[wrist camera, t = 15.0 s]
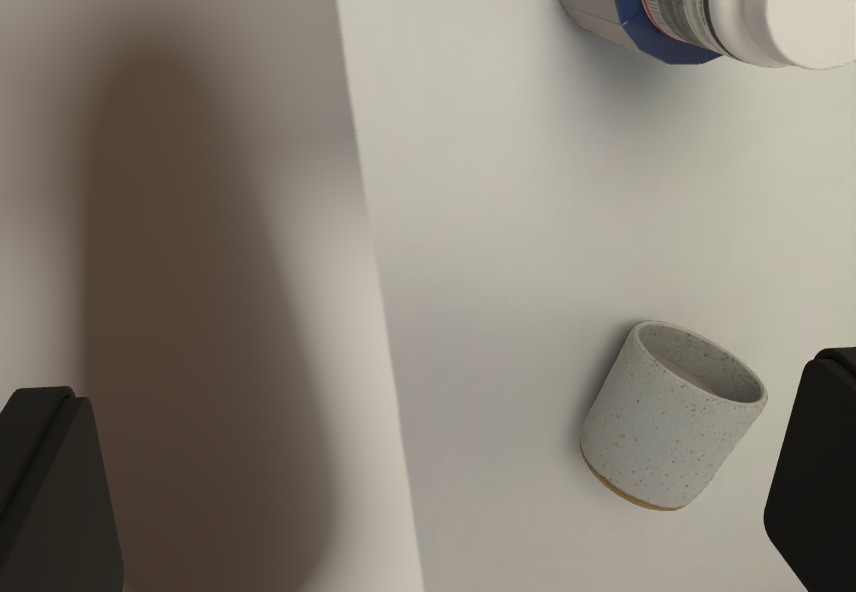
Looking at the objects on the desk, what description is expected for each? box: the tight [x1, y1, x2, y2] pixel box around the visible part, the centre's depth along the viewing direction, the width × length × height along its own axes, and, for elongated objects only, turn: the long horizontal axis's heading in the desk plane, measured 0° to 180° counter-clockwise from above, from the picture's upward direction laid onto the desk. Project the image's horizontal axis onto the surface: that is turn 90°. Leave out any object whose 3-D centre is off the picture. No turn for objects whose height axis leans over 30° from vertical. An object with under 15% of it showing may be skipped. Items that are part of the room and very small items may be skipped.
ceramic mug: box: [580, 321, 768, 511], centre depth 42 cm, size 11×8×8 cm
